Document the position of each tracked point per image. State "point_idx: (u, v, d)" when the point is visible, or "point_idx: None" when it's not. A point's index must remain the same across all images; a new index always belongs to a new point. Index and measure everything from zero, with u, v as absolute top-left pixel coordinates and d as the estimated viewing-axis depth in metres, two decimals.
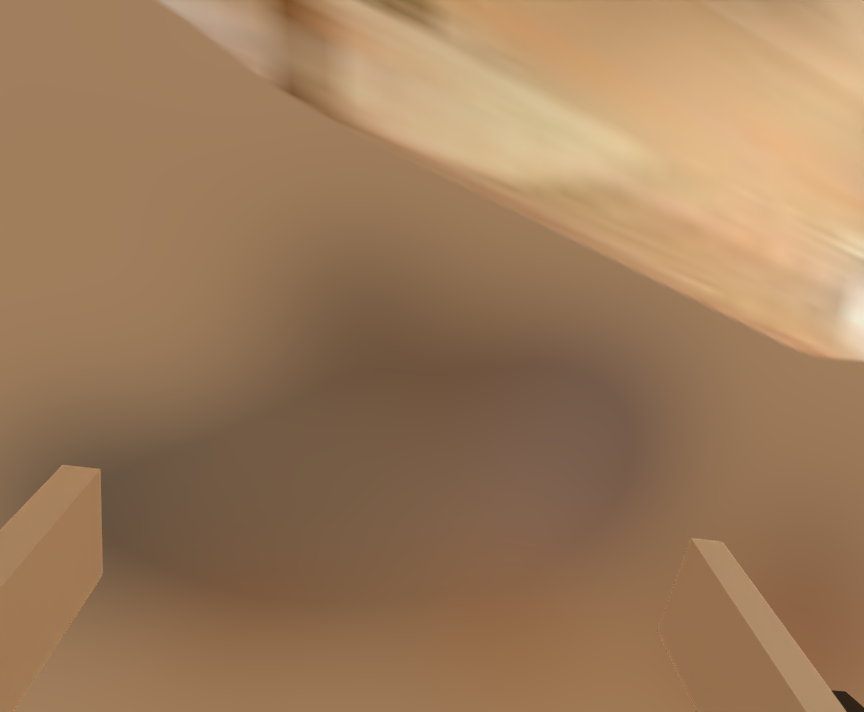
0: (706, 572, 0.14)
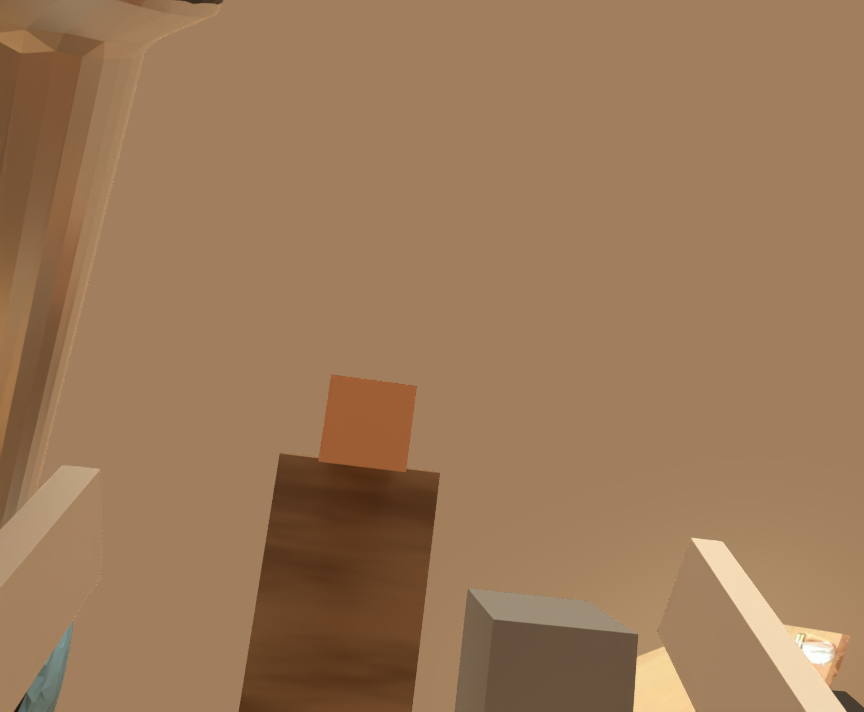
0: (707, 572, 0.14)
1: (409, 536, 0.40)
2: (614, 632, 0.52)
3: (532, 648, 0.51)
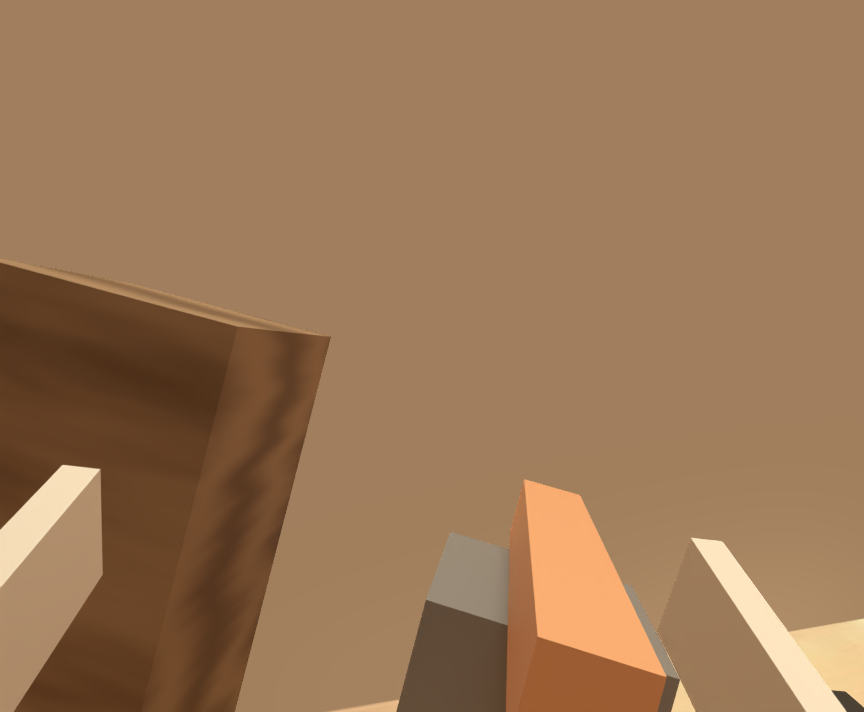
0: (706, 572, 0.14)
1: (163, 443, 0.20)
2: None
3: (484, 659, 0.30)
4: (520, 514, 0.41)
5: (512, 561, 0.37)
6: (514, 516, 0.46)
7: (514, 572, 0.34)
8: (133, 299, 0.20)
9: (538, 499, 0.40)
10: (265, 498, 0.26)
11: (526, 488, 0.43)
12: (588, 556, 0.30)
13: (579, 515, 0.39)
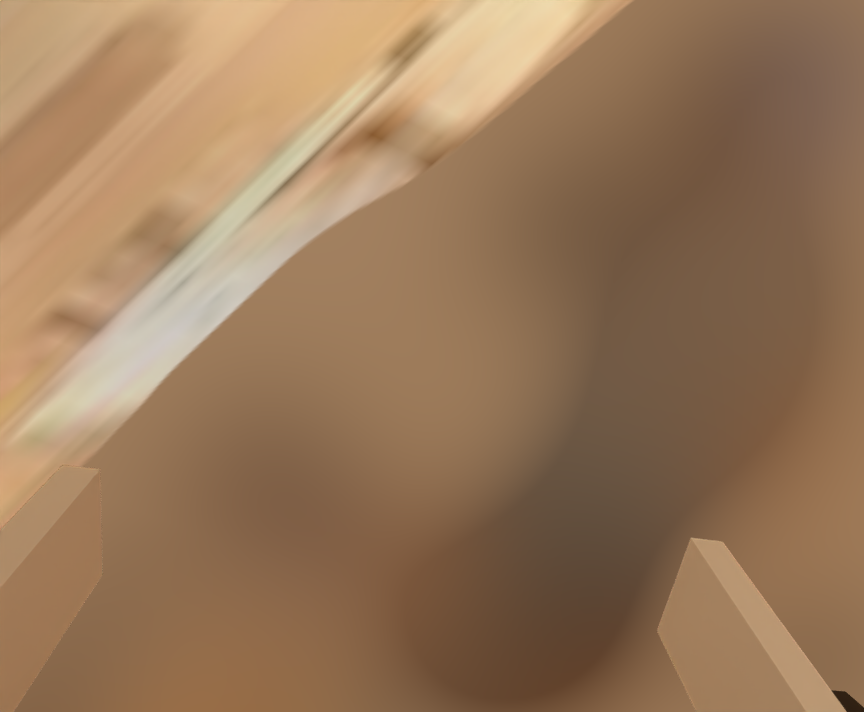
0: (707, 572, 0.14)
1: None
2: None
3: None
4: None
5: None
6: None
7: None
8: None
9: None
10: None
11: None
12: None
13: None
